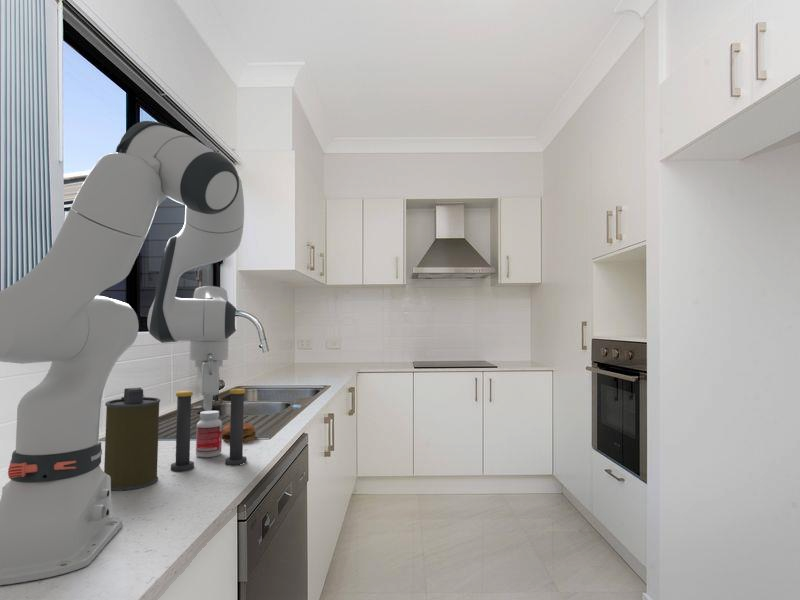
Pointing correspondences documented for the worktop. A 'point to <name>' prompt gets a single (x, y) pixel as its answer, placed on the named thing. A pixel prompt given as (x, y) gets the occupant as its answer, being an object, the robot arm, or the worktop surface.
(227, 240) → the robot arm
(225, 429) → the burger
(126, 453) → the canister
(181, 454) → the post left
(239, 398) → the post right
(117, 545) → the worktop surface
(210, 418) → the pill bottle
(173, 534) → the worktop surface
